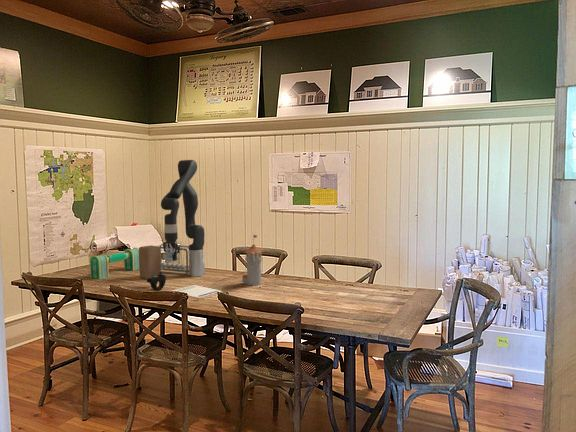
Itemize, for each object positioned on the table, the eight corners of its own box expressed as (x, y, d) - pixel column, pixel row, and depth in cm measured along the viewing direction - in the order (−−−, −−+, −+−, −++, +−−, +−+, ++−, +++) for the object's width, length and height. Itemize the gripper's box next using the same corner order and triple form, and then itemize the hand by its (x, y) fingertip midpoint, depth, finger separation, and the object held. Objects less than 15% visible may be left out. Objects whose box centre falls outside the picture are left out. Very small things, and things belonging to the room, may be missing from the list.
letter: (194, 285, 282) (194, 284, 282) (222, 291, 267) (222, 290, 267) (170, 291, 268) (170, 290, 268) (198, 298, 253) (198, 297, 253)
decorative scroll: (132, 268, 334) (131, 247, 333) (140, 269, 331) (140, 248, 329) (90, 278, 303) (89, 255, 301) (99, 279, 299) (98, 256, 297)
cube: (172, 259, 286) (172, 251, 285) (177, 260, 283) (177, 252, 282) (165, 260, 282) (165, 252, 281) (171, 261, 279) (170, 253, 278)
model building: (259, 286, 277) (258, 236, 275) (239, 286, 280) (239, 235, 277) (265, 281, 291) (264, 233, 288) (246, 280, 293) (245, 232, 291)
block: (148, 279, 296) (147, 248, 295) (139, 277, 302) (138, 246, 301) (161, 277, 304) (160, 246, 303) (152, 275, 310) (151, 245, 309)
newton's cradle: (150, 271, 321) (149, 246, 319) (160, 269, 330) (159, 243, 329) (187, 275, 309) (186, 248, 307) (196, 272, 319) (196, 246, 317)
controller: (167, 288, 274) (167, 271, 273) (151, 293, 264) (150, 275, 263) (162, 287, 277) (161, 270, 276) (145, 292, 266) (145, 274, 265)
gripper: (183, 231, 279) (184, 260, 281) (168, 230, 288) (169, 257, 290) (173, 233, 273) (174, 262, 275) (158, 231, 282) (159, 259, 284)
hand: (171, 259), depth 282 cm, fingers closed on cube, 5 cm apart
